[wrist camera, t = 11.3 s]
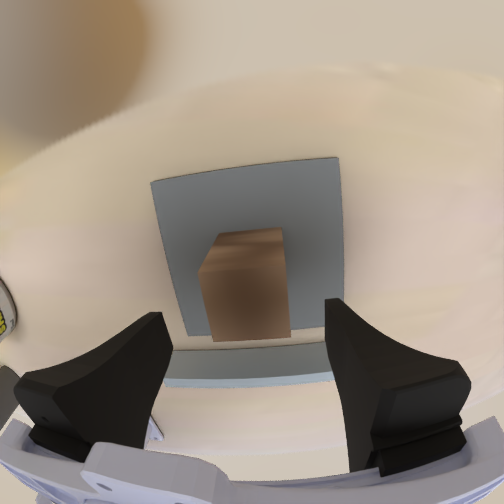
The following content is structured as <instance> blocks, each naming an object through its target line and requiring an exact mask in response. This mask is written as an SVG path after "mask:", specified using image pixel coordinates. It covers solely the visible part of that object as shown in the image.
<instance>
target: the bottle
mask: <svg viewBox="0 0 504 504" xmlns="http://www.w3.org/2000/svg"><path fill="white" fill-rule="evenodd" d="M19 380H20V378H19V377H18V375H17V374H16V373H15V372H13V371H12V370H11V369H10V368H8V367H6V366H3V367H1V369H0V430H1V429H2V428H3V426H4V425H5V423H6V422H7V420H8V419H9V417H10V416H11V414H12V413H13V412H14V410H15V409H16V408H17V406H18V405H19V403H18V401H17V400H16V398H15V395H14V391H13V388H14V386H15V385H16V383H17V382H18V381H19Z"/></svg>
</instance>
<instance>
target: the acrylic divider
mask: <svg viewBox="0 0 504 504" xmlns="http://www.w3.org/2000/svg"><path fill="white" fill-rule="evenodd" d="M332 380H335V379H334V375H333V372H332V369H331V365H330V362H329V359H328V354H327V348H326V342H319V343H310V344H300V345H290V346H278V347H265V348H250V349H230V350H191V351H173V354H172V356H171V360H170V363H169V367H168V369H167V372H166V374H165V377H164V379H163V381H164V384H165V386H166V387H181V388H250V387H270V386H285V385H296V384H307V383H316V382H324V381H332Z"/></svg>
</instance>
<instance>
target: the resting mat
mask: <svg viewBox="0 0 504 504" xmlns="http://www.w3.org/2000/svg"><path fill="white" fill-rule="evenodd" d="M150 184H151V189H152V195H153V200H154V205H155V210H156V214H157V219H158V224H159V228H160V233H161V237H162V241H163V246H164V250H165V254H166V258H167V262H168V266H169V270H170V274H171V278H172V282H173V286H174V289H175V293H176V297H177V300H178V304H179V307H180V311H181V314H182V318H183V321H184V324H185V328H186V331H187V334H188V336H208V335H212V334H211V330H210V326H209V322H208V317H207V313H206V309H205V305H204V300H203V296H202V291H201V287H200V282H199V278H198V273H197V272H198V271H199V269H200V267H201V265H202V263H203V261H204V260H205V258H206V256H207V254H208V252H209V250H210V249H211V247H212V245H213V243H214V241H215V240H216V238H217V236H218V234H219V233H225V232H235V231H244V230H254V229H264V228H274V227H281V229H282V237H283V246H284V255H285V265H286V276H287V289H288V302H289V315H290V330H297V329H306V328H316V327H324V326H325V300H324V299H331V298H340V299H341V300H342V301H343V302H344V242H343V215H342V196H341V182H340V169H339V158H337V157H335V158H320V159H308V160H296V161H286V162H276V163H267V164H259V165H251V166H243V167H235V168H228V169H221V170H215V171H208V172H202V173H196V174H190V175H185V176H179V177H174V178H168V179H163V180H158V181H153V182H151V183H150Z"/></svg>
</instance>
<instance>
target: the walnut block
mask: <svg viewBox="0 0 504 504" xmlns="http://www.w3.org/2000/svg"><path fill="white" fill-rule="evenodd" d="M197 273H198V278H199V282H200V287H201V291H202V296H203V300H204V305H205V309H206V313H207V317H208V322H209V326H210V330H211V334H212V338H213V342H221V341H244V340H262V339H276V338H288V337H291V330H290V315H289V302H288V289H287V276H286V265H285V255H284V246H283V237H282V229H281V227H274V228H264V229H254V230H244V231H235V232H225V233H219V234H218V236H217V238H216V240H215V241H214V243H213V245H212V247H211V249H210V250H209V252H208V254H207V256H206V258H205V260H204V261H203V263H202V265H201V267H200V269H199V271H198V272H197Z"/></svg>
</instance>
